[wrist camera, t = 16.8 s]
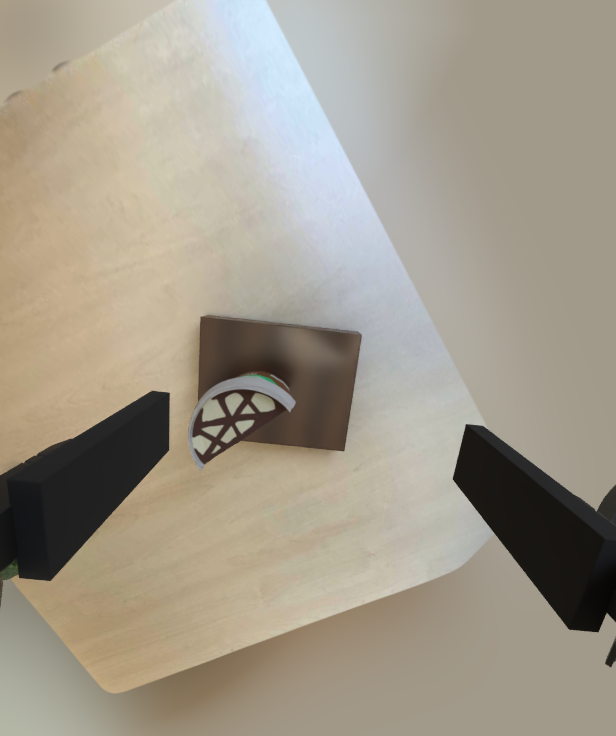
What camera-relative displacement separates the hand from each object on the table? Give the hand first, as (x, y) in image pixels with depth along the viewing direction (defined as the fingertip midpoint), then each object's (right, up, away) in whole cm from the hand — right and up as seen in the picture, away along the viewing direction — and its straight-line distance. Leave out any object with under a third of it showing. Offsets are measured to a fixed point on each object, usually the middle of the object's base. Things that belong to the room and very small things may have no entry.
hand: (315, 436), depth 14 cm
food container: (-8, 0, +26) cm, 28 cm away
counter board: (-4, +1, +29) cm, 30 cm away
